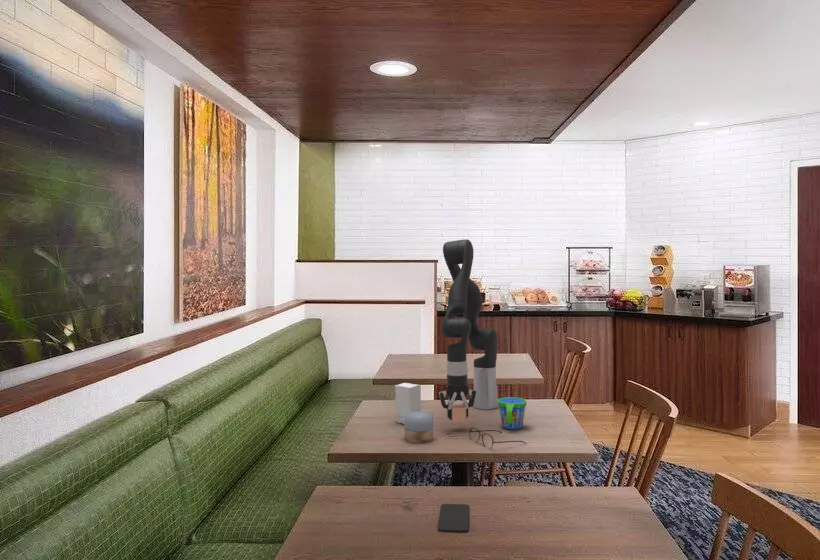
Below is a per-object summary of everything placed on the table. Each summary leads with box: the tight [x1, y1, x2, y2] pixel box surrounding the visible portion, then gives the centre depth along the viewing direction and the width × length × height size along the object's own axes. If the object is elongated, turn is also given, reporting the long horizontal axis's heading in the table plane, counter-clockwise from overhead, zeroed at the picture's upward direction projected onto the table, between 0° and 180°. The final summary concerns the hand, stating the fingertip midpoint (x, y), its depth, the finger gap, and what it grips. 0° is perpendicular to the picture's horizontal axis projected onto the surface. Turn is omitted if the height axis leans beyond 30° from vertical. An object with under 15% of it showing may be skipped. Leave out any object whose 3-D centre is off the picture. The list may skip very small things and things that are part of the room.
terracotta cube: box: [450, 403, 467, 423], centre depth 220 cm, size 5×5×5 cm
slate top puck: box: [404, 410, 434, 432], centre depth 211 cm, size 10×10×4 cm
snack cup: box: [498, 396, 527, 430], centre depth 223 cm, size 16×10×10 cm
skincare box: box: [394, 382, 422, 425], centre depth 231 cm, size 8×6×15 cm
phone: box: [437, 503, 471, 534], centre depth 148 cm, size 7×1×15 cm
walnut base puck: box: [403, 426, 434, 444], centre depth 211 cm, size 10×10×4 cm
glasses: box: [469, 427, 528, 449], centre depth 207 cm, size 14×15×5 cm
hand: (457, 418), depth 220 cm, fingers closed on terracotta cube, 5 cm apart
